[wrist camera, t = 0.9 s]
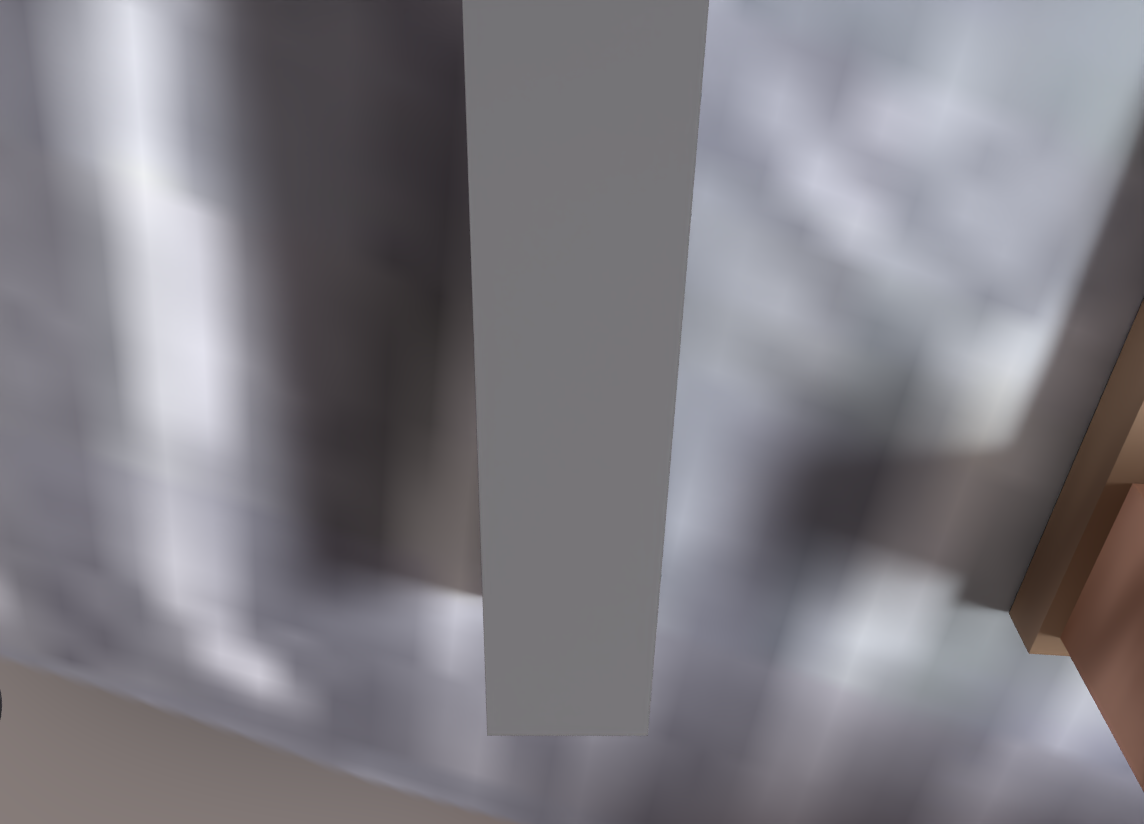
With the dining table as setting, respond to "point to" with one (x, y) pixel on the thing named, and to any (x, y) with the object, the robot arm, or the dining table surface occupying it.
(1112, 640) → the display stand
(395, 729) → the dining table surface
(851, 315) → the dining table surface
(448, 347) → the dining table surface
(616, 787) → the dining table surface
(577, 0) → the grey long bar
